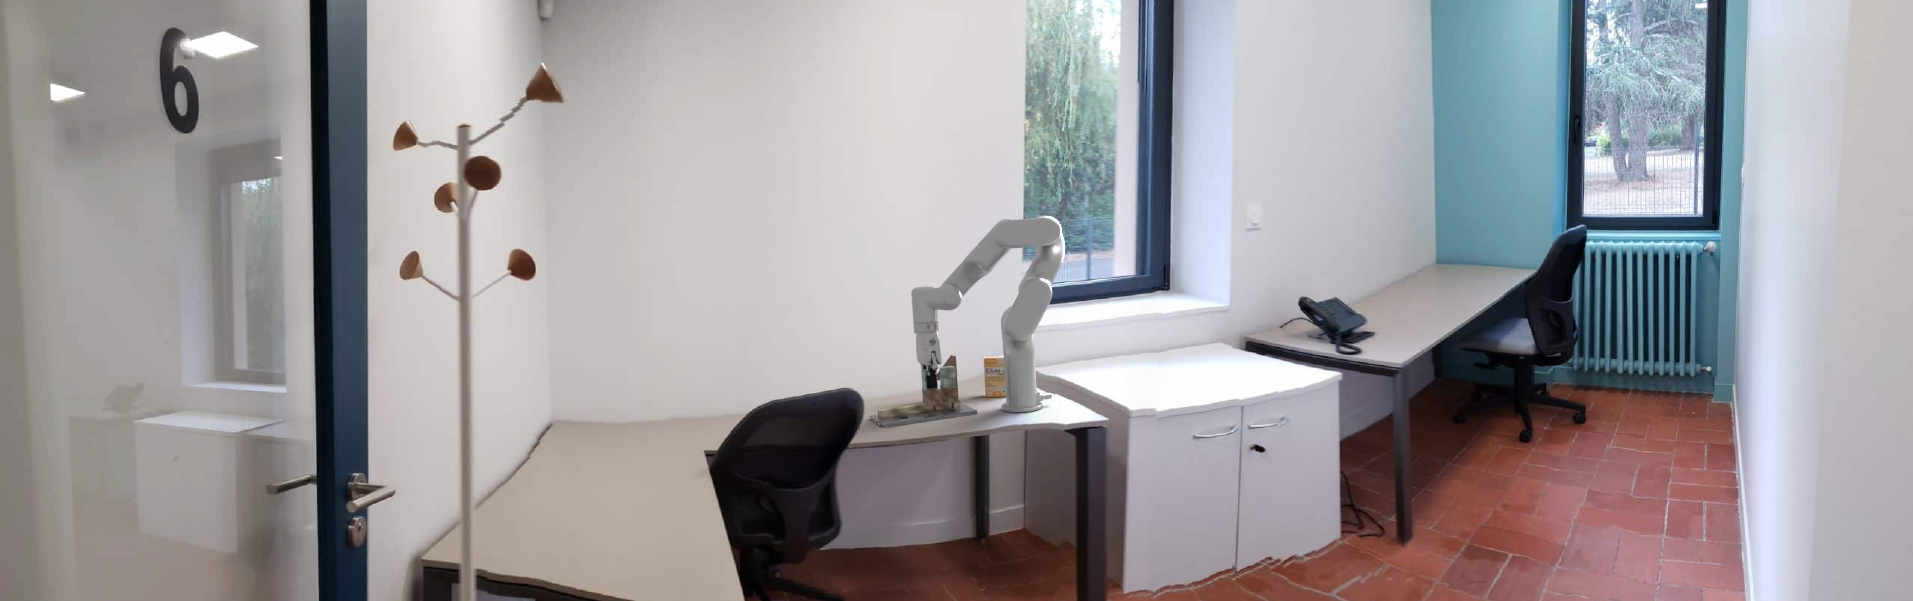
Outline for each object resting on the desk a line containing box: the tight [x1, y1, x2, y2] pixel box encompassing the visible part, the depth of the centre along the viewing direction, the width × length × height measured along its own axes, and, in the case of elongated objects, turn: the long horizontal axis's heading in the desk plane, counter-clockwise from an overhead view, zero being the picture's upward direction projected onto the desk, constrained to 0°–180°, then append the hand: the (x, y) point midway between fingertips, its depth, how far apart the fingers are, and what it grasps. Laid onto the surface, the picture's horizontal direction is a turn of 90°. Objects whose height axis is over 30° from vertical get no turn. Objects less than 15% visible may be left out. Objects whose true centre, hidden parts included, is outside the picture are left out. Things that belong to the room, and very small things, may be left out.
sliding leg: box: [920, 369, 939, 411], centre depth 320 cm, size 4×6×12 cm, turn 22°
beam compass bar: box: [877, 366, 961, 418], centre depth 319 cm, size 26×7×13 cm, turn 112°
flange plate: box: [868, 402, 978, 427], centre depth 319 cm, size 30×14×1 cm, turn 112°
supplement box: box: [983, 355, 1006, 398], centre depth 341 cm, size 8×5×13 cm, turn 81°
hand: (929, 386), depth 319 cm, fingers closed on sliding leg, 2 cm apart
